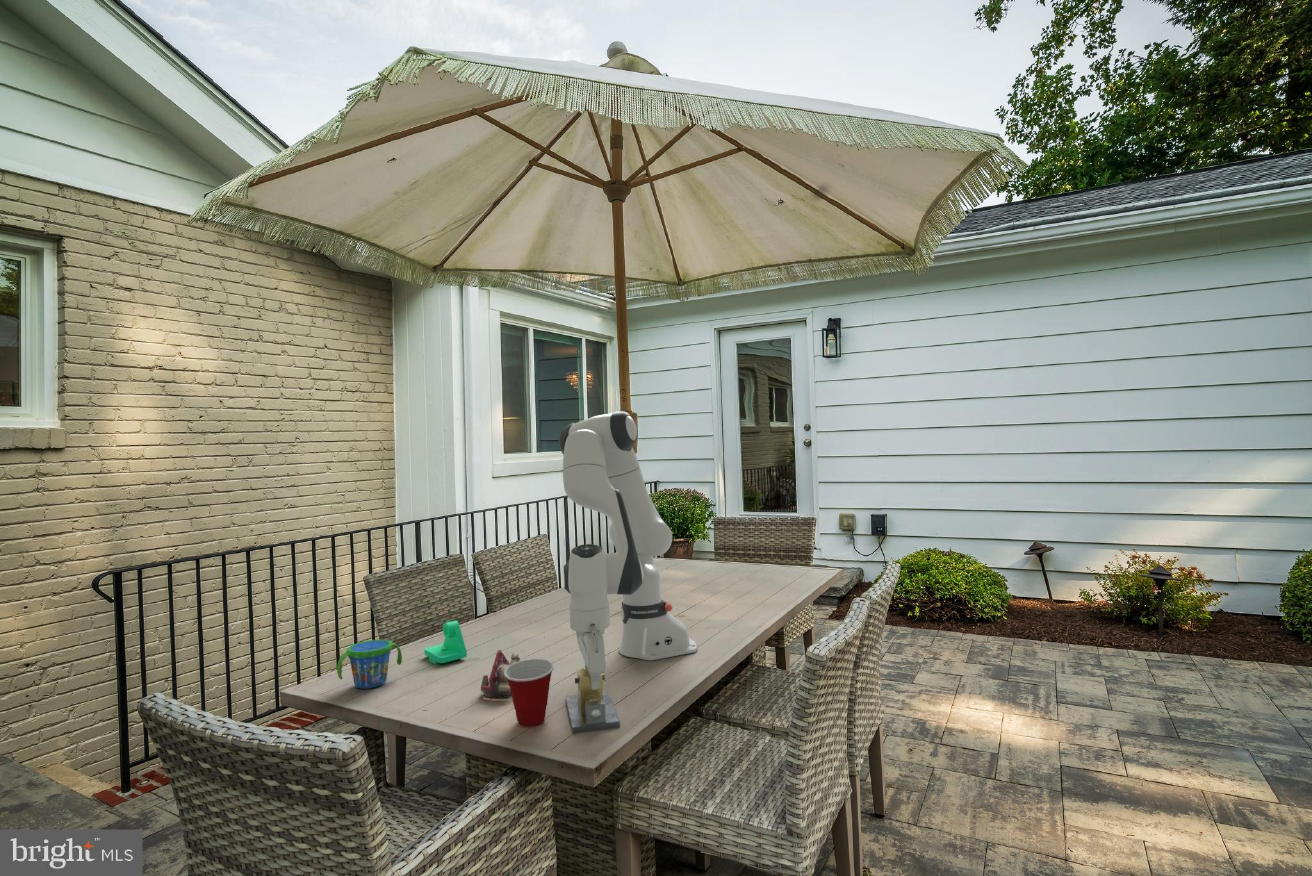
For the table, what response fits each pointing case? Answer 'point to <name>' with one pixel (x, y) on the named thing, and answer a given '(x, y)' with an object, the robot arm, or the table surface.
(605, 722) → the shaft stand
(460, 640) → the camera mount
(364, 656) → the snack cup
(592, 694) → the block
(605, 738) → the table surface
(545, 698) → the plastic cup
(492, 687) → the brake caliper
